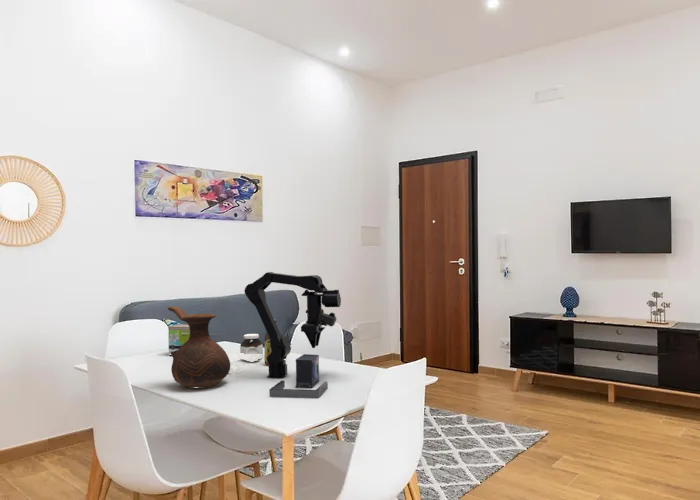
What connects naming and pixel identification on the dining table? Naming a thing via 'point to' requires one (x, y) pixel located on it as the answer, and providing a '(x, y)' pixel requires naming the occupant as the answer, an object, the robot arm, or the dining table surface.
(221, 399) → the dining table surface
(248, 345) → the spread jar
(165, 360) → the dining table surface
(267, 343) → the sauce bottle
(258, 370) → the dining table surface
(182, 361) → the jug
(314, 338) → the robot arm
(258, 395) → the dining table surface
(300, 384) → the small box
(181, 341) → the tea box
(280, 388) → the guide rails
